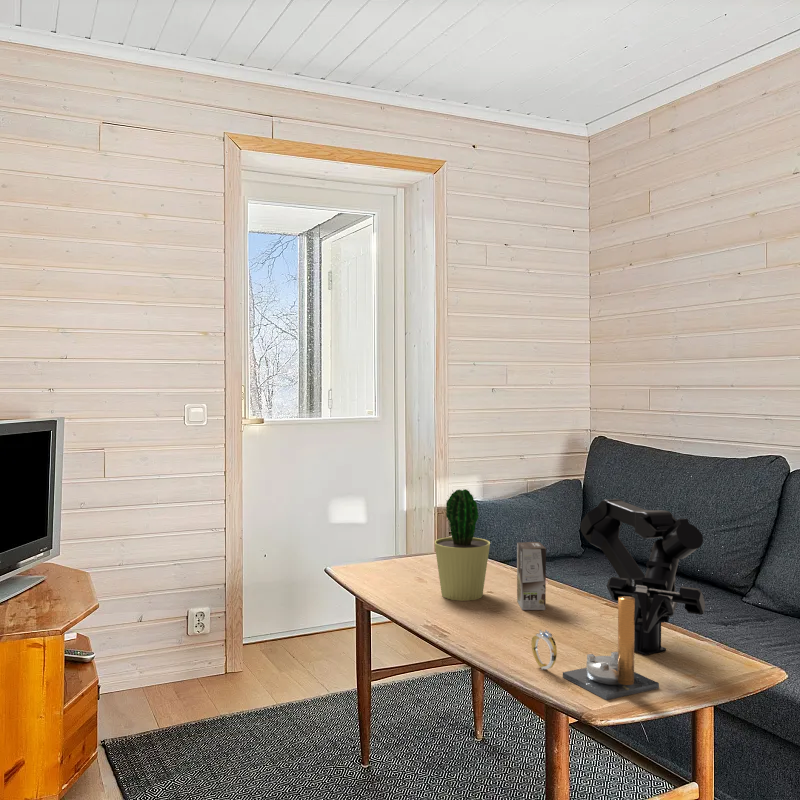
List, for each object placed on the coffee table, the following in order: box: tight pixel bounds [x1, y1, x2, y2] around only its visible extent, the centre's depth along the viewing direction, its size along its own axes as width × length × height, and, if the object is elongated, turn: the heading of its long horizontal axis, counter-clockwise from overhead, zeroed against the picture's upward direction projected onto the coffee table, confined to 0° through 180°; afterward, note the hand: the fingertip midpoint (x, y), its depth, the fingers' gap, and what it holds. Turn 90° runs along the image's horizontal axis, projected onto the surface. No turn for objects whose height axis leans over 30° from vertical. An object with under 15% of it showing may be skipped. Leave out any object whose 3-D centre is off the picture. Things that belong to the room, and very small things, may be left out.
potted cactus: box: [434, 488, 491, 602], centre depth 225 cm, size 15×15×30 cm
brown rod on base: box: [586, 596, 635, 685], centre depth 159 cm, size 12×9×17 cm
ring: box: [530, 629, 558, 671], centre depth 168 cm, size 7×3×8 cm, turn 22°
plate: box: [562, 667, 660, 701], centre depth 161 cm, size 13×13×1 cm
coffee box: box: [516, 541, 547, 611], centre depth 215 cm, size 9×6×16 cm
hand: (645, 631), depth 162 cm, fingers closed
